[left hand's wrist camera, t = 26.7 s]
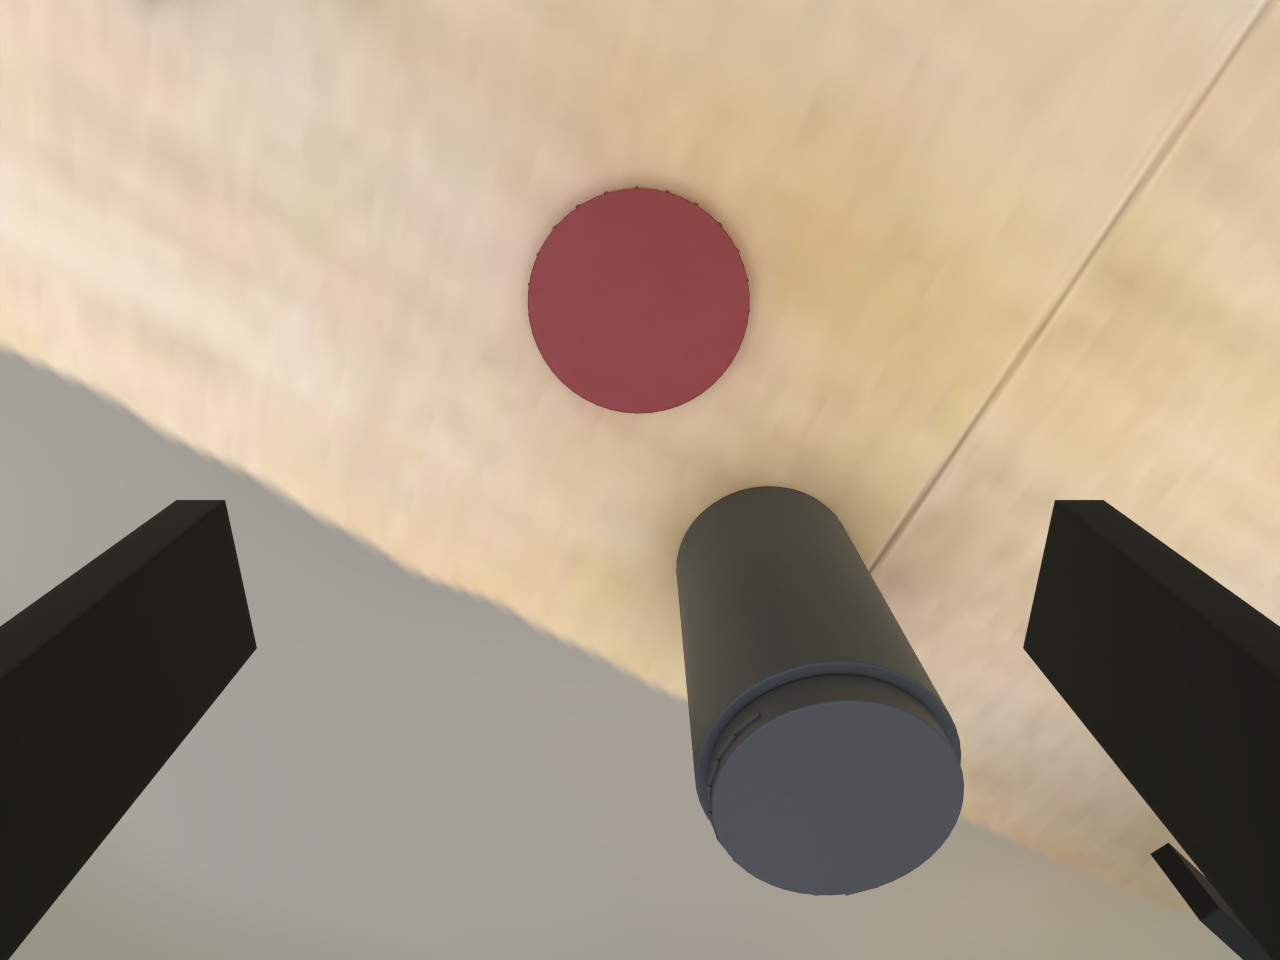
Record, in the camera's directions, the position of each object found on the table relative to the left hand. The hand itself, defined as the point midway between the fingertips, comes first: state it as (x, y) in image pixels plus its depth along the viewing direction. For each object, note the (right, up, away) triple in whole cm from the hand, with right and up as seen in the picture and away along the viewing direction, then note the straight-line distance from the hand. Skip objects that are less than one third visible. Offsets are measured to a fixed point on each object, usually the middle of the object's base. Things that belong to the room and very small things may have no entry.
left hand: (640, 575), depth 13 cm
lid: (0, +10, +25) cm, 27 cm away
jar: (+7, -3, +32) cm, 33 cm away
